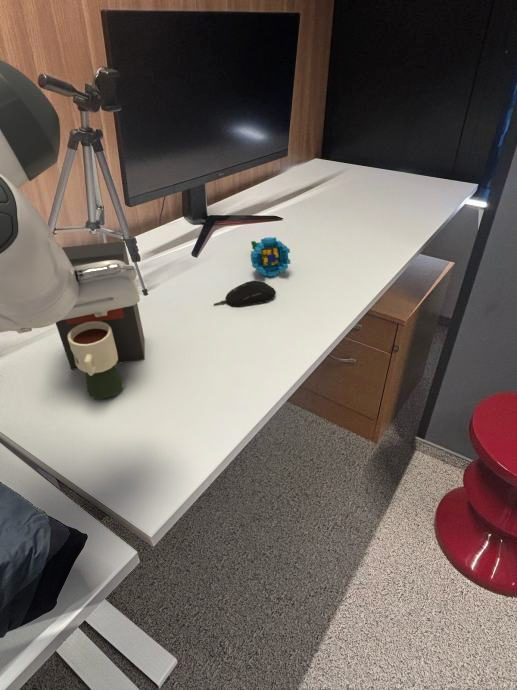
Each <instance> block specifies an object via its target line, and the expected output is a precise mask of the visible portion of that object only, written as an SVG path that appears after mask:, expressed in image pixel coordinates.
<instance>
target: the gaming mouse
mask: <svg viewBox="0 0 517 690" xmlns="http://www.w3.org/2000/svg"><path fill="white" fill-rule="evenodd" d="M276 293H277V291H276V290H275V288H274V287H273V286H271V285H270V284H268V283H266V282H264V281H260V280H250V281H246V282H244V283H242V284H240V285H237V286H236V287H234V288H232V289H231V290H230V291H229V292H227V294H226V296H225V298H224V299H223V300H221V301H218V302H214V303H213V306H218V305H223V304H225V303H227V304H228V305H230V306H232V307H244V306H251V305H257V304H264V303H266V302H269V301H271V300H273V299H274V298H275V296H276Z"/></svg>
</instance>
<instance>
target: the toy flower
mask: <svg viewBox="0 0 517 690" xmlns="http://www.w3.org/2000/svg"><path fill="white" fill-rule="evenodd" d="M250 243H251V248H252V250H253V251H251V250H250V262H251V267H252V268H253V269H255V270H256V271H257V272H258V273H260V274H261V275H262V276H264V277H276V276H277V275H279V273H284V272H285V270H288V269H289V265H291V259H289V254H291V250H290V248H289V247H288V246H287V245H285V244H284V243H283V242H282V240H281V241H280V240H277V237H275V236H274V237H271V236H270V237H263V238H260V241H259V242H257V241H255V240H252V241H250Z"/></svg>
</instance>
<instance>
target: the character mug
mask: <svg viewBox="0 0 517 690" xmlns="http://www.w3.org/2000/svg"><path fill="white" fill-rule="evenodd" d="M68 341H69V344H70V348H71V351H72V352H73V355H74V359H75V364H76V366H77V367H78V368H77V369H79V370H80V371H82V372H83V373H84V379H85V387H86V392H87V394H88V396H89V397H90V398H92V399H94V400H102V399H107V398H111V397H113V396H116V395H118V394H119V392H121V390H123V386H124V383H123V380H122V377H121V374H120V373H119V371H118V368H117V367H116V365H117V363H116V362H117V360H118V355H117V349H116V345H115V342H114V338H113V334H112V330H111V327H110V326H109V325H108V324H107V323H104V322H101V321H91V322H85V323H83V324H80V325H78V326H76V327H74V328H73V329H72V330H71V331H70V332H69V333H68Z"/></svg>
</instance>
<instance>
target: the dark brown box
mask: <svg viewBox="0 0 517 690" xmlns="http://www.w3.org/2000/svg"><path fill="white" fill-rule="evenodd" d="M61 247H62V249H63V250H64V252H65V254H66V255H67V257H68V259H69V260H70V262H71V264H72V265H73V267H74V266H79V265H85V264H90V263H96V262H101V261H107V260H119V261H122V262H124V263H125V264H126V265H130V260H129V256H128V251H127V245H126V241H124V240H123V241H113V242H102V243H93V244H83V245H73V246H72V245H71V246H61ZM141 319H142V318H141V315H140V309H139V306H138V303H136V304H135V305H133V306H129V307H123V308H119V309H114V310H109V311H107V315H106V316H101V317H95V315H94V314H89V315H84V316H80V317H75V318H70V319H65V320H60V321H58V322H56V323H55V325H56V329H57V332H58V335H59V338H60V341H61V343H62V347H63V349H64V352H65V353H64V354H65V355H66V358H67V361H68V364H69V368H70V370H75V368H76V369H79V368H78V367H77V366H76V364H75V359H74V355H73V352H72V351H71V348H70V344H69V341H68V333H69V332H70V331H71V330H72V329H73V328H74V327H76V326H78V325H80V324H83V323H85V322H91V321H101V322H104V323H107V324H108V325H109V326H110V327H111V330H112V334H113V338H114V342H115V345H116V349H117V355H118V360H117V362H116V364H121V363H120V362H122V363H128V361H129V362H136V361H144V360H145V358H146V357H145V356H146V354H145V350H146V349H145V335H144V329H143V325H142V320H141Z"/></svg>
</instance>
